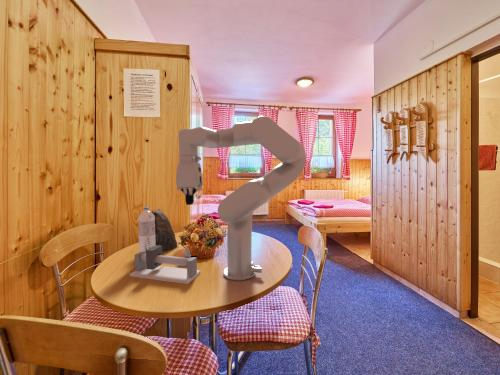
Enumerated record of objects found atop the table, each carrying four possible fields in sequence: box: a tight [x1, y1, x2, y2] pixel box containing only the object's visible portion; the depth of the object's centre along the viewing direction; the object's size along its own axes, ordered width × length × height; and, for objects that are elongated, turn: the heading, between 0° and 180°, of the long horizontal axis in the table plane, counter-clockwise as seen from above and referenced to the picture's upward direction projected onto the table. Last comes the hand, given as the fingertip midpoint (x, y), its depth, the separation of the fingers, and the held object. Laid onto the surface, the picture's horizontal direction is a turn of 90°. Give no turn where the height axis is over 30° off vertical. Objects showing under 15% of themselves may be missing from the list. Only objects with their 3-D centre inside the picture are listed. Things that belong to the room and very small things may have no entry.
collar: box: [146, 245, 163, 270], centre depth 99 cm, size 3×6×8 cm, turn 166°
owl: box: [151, 208, 178, 253], centre depth 129 cm, size 13×13×20 cm
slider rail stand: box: [129, 252, 201, 285], centre depth 98 cm, size 25×10×8 cm, turn 76°
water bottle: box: [137, 206, 156, 254], centre depth 108 cm, size 7×7×25 cm
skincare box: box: [184, 230, 191, 258], centre depth 119 cm, size 6×4×12 cm
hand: (189, 204), depth 103 cm, fingers closed
